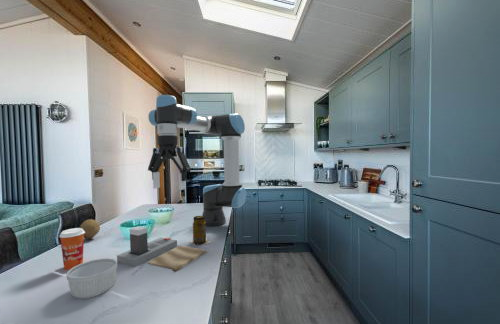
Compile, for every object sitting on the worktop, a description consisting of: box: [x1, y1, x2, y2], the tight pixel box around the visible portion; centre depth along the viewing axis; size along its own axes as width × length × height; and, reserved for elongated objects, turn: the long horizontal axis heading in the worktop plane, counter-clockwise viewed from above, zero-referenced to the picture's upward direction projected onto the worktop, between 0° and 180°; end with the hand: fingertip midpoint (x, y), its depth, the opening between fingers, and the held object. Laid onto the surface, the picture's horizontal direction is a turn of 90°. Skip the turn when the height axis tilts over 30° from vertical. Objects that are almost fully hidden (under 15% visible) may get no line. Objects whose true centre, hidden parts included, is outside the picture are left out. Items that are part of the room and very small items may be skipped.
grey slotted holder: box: [116, 236, 178, 268], centre depth 101 cm, size 22×10×4 cm, turn 154°
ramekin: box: [66, 257, 118, 299], centre depth 75 cm, size 13×13×7 cm
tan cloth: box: [147, 244, 207, 272], centre depth 97 cm, size 18×14×1 cm
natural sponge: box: [79, 218, 101, 240], centre depth 122 cm, size 9×9×10 cm
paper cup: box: [59, 227, 85, 271], centre depth 90 cm, size 8×8×14 cm
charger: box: [129, 226, 149, 256], centre depth 96 cm, size 4×5×12 cm
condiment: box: [189, 215, 212, 247], centre depth 114 cm, size 7×8×12 cm
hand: (169, 188), depth 96 cm, fingers open, 13 cm apart
